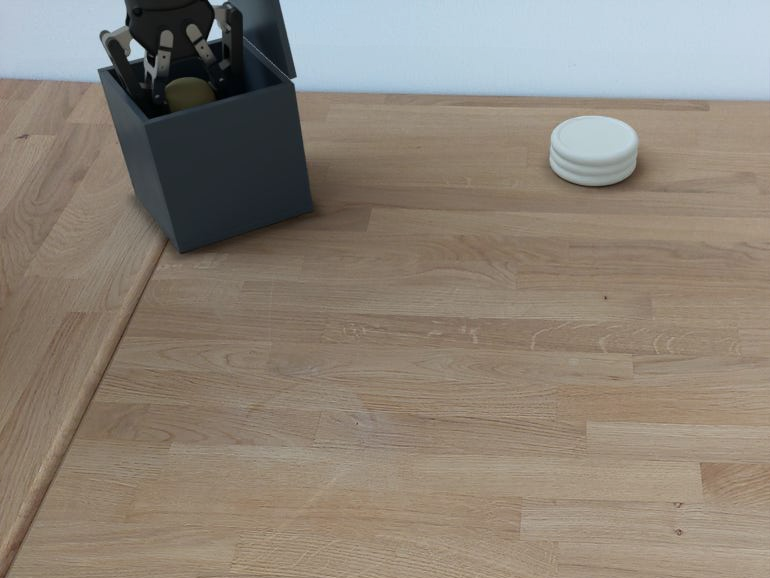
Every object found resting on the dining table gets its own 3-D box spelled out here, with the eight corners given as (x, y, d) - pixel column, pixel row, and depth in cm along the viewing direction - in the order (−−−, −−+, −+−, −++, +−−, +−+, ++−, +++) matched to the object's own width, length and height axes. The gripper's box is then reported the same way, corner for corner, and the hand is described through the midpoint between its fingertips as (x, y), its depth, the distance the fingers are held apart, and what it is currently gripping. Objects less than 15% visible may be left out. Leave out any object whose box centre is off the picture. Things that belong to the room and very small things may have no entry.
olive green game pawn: (170, 193, 105) (141, 86, 96) (210, 169, 108) (185, 63, 99) (211, 210, 103) (185, 103, 94) (249, 185, 106) (228, 79, 97)
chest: (180, 253, 101) (144, 124, 91) (135, 195, 108) (96, 68, 97) (313, 210, 106) (294, 83, 95) (262, 157, 113) (239, 32, 102)
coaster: (652, 163, 112) (657, 132, 109) (600, 198, 107) (603, 167, 105) (584, 135, 116) (587, 104, 113) (531, 167, 111) (532, 136, 109)
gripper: (86, -32, 82) (143, 164, 96) (242, -65, 87) (274, 127, 100) (59, -60, 86) (117, 132, 100) (210, -91, 91) (245, 98, 104)
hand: (196, 129), depth 100 cm, fingers closed on olive green game pawn, 5 cm apart
